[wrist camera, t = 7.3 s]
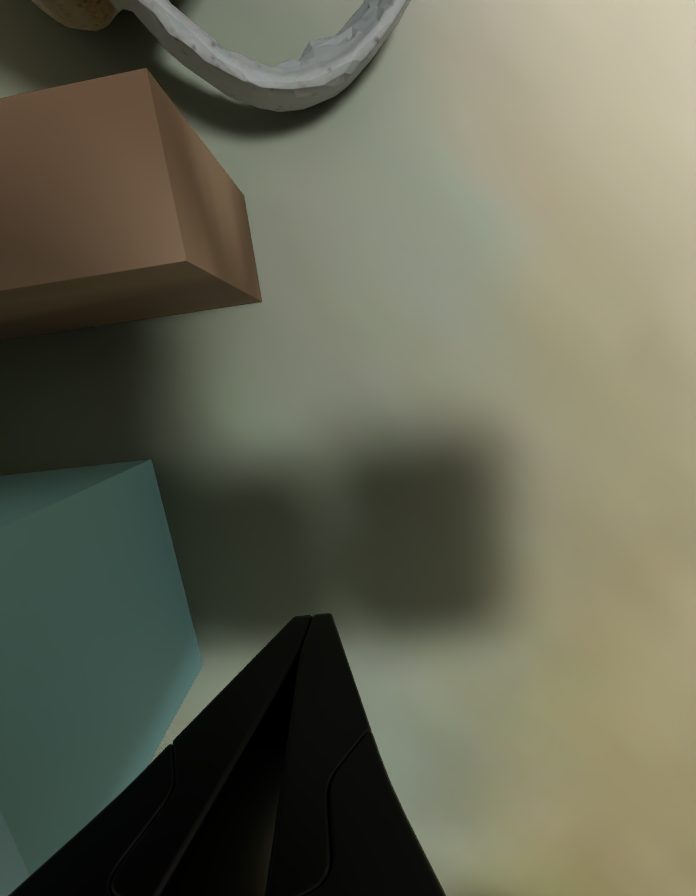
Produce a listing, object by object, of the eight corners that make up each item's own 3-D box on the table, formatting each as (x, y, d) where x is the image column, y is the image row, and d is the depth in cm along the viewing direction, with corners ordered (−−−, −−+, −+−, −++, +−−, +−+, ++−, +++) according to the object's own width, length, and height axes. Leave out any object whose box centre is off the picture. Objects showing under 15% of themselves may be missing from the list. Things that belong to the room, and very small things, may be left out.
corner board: (340, 762, 13) (328, 939, 9) (-15, 777, 14) (-165, 940, 10) (244, 195, 9) (146, 67, 5) (-238, 280, 10) (-624, 229, 6)
